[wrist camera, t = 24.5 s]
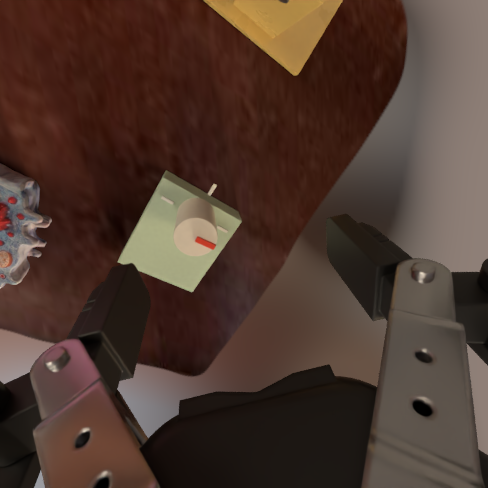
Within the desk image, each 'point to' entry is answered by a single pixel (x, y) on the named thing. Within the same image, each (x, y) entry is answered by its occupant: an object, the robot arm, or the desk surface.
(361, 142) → the desk surface
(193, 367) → the desk surface
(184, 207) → the knob
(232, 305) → the desk surface
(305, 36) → the bracket
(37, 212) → the cell model
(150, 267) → the panel
